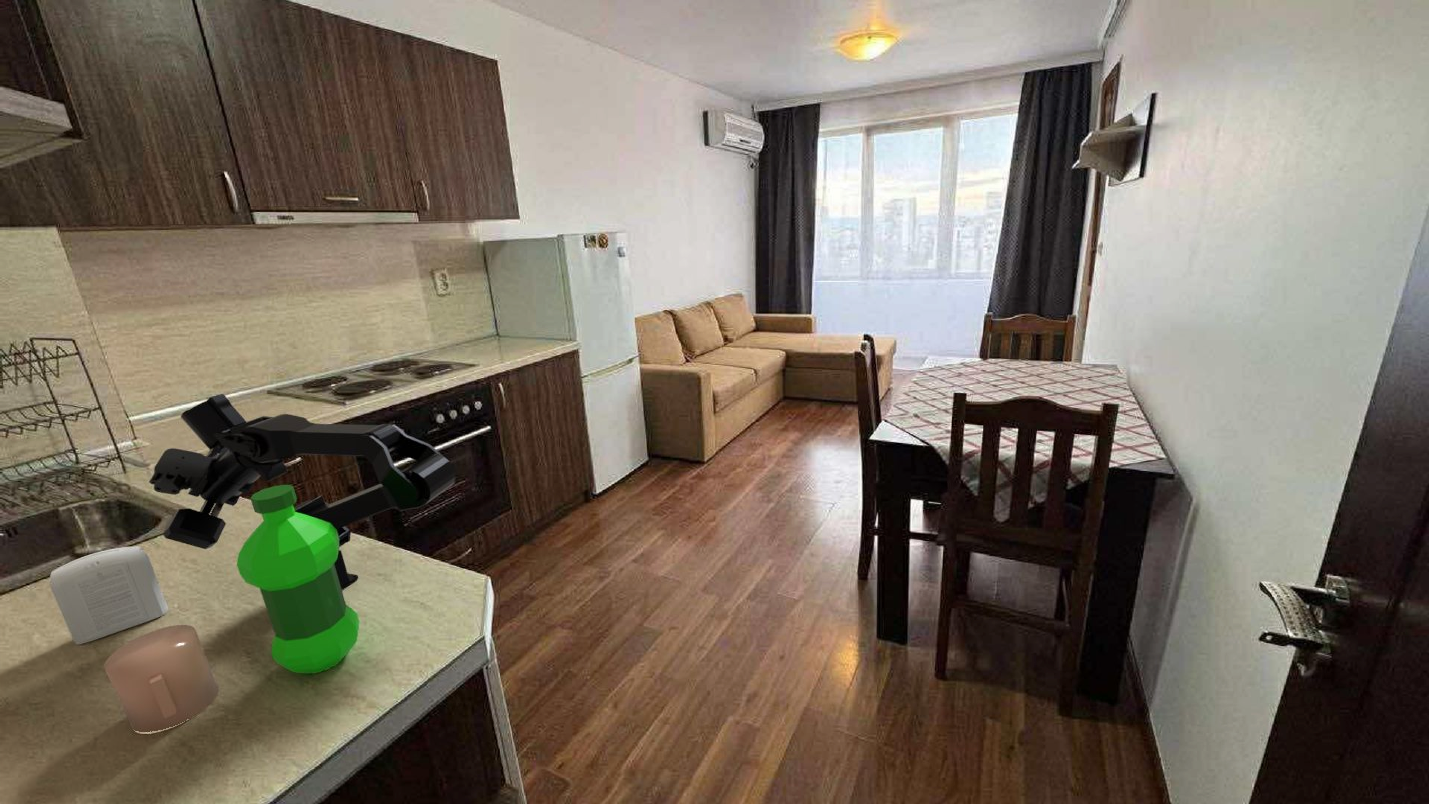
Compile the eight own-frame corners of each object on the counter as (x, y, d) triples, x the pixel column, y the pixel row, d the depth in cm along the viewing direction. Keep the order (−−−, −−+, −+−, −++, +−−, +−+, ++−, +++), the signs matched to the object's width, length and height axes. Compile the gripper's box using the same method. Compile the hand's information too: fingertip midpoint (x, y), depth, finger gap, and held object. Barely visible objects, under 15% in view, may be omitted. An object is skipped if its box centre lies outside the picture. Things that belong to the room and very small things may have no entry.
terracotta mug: (133, 707, 71) (106, 648, 69) (216, 673, 77) (194, 616, 74) (130, 754, 65) (100, 690, 62) (221, 712, 70) (197, 651, 67)
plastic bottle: (308, 698, 71) (248, 519, 64) (262, 673, 76) (201, 503, 68) (383, 646, 80) (339, 482, 72) (338, 626, 84) (291, 470, 77)
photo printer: (169, 603, 92) (142, 535, 88) (170, 615, 89) (141, 545, 85) (76, 636, 85) (43, 564, 82) (74, 650, 82) (39, 576, 79)
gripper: (205, 401, 91) (157, 449, 96) (145, 497, 78) (94, 547, 83) (281, 433, 98) (233, 476, 103) (237, 526, 85) (185, 570, 90)
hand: (189, 513), depth 95 cm, fingers open, 9 cm apart
